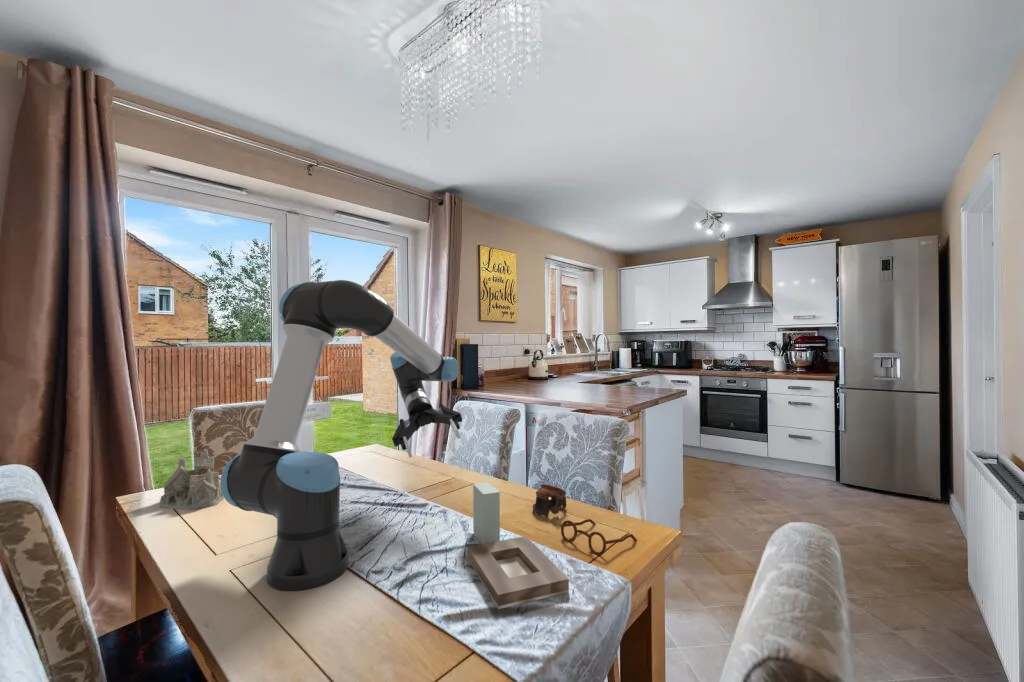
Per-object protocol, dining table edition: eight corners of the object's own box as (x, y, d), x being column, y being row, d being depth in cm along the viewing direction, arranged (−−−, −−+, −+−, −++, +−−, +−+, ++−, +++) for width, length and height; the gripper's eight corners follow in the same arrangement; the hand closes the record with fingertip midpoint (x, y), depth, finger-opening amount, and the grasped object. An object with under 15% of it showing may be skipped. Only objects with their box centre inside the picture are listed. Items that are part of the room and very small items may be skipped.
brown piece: (524, 510, 125) (533, 481, 128) (552, 521, 128) (559, 493, 131) (544, 514, 115) (553, 482, 118) (574, 526, 117) (582, 494, 120)
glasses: (559, 539, 106) (559, 519, 106) (594, 525, 115) (594, 506, 115) (603, 560, 96) (603, 537, 96) (638, 542, 105) (638, 521, 105)
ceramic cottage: (164, 497, 135) (166, 448, 134) (227, 491, 142) (229, 445, 141) (148, 519, 121) (150, 464, 120) (219, 511, 128) (221, 460, 127)
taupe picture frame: (498, 609, 78) (498, 594, 78) (467, 558, 96) (467, 546, 96) (568, 592, 83) (568, 578, 83) (526, 547, 101) (526, 536, 101)
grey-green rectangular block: (483, 546, 102) (483, 494, 102) (473, 532, 109) (473, 484, 109) (499, 543, 103) (499, 492, 103) (488, 530, 111) (488, 482, 111)
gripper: (459, 403, 143) (479, 437, 125) (383, 432, 136) (392, 472, 118) (454, 384, 140) (474, 415, 121) (375, 412, 133) (384, 450, 115)
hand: (434, 443), depth 120 cm, fingers open, 13 cm apart
